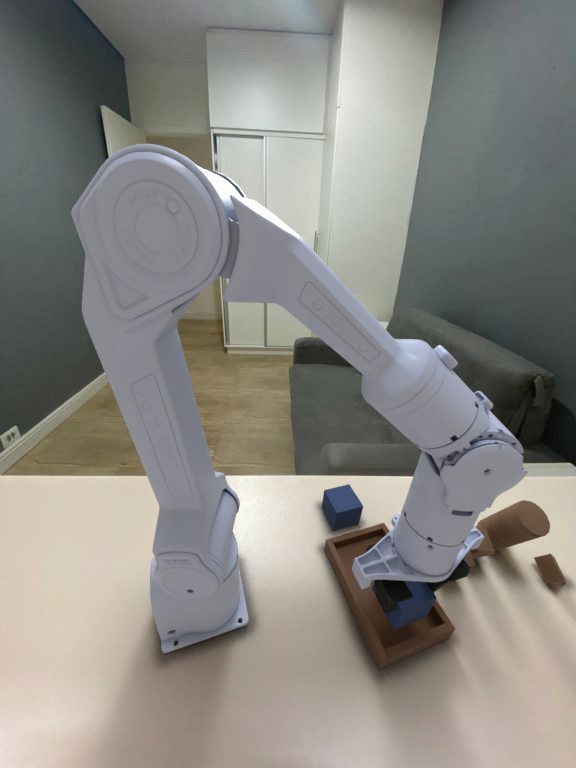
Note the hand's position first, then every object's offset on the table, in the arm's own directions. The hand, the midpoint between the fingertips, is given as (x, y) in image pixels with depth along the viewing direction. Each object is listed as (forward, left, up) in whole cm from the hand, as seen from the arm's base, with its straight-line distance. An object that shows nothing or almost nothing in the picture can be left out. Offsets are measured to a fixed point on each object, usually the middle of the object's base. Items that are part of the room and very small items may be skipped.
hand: (401, 595), depth 36 cm
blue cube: (0, 0, -1) cm, 1 cm away
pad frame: (0, +3, -4) cm, 5 cm away
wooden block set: (+17, +2, -4) cm, 18 cm away
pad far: (0, +15, -4) cm, 15 cm away
